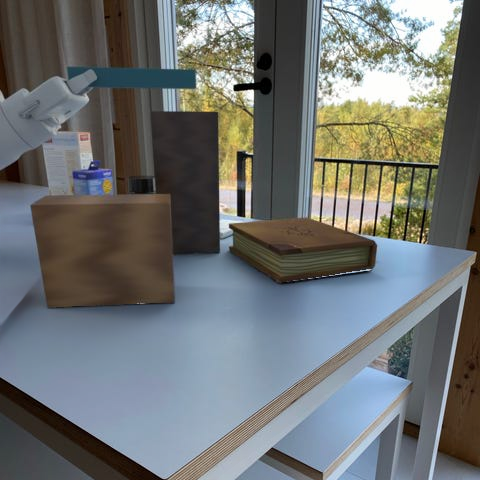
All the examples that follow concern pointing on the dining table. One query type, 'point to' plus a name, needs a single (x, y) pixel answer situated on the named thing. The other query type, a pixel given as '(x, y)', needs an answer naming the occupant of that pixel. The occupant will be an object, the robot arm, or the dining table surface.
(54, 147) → the cracker box
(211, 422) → the dining table surface
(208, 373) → the dining table surface
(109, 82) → the teal bar
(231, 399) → the dining table surface
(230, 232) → the hard drive
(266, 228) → the diary
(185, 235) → the stand
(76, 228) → the brown wooden block
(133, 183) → the ink bottle
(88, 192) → the ink cartridge box
